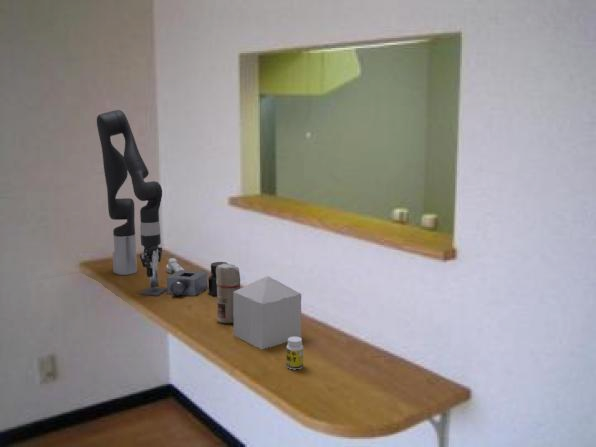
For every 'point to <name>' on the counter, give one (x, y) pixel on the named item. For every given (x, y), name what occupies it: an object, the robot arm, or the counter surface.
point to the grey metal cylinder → (154, 273)
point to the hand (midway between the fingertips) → (152, 275)
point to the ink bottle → (214, 278)
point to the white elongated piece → (173, 266)
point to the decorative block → (266, 313)
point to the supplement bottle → (294, 353)
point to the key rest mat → (153, 291)
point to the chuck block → (187, 282)
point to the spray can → (226, 291)
